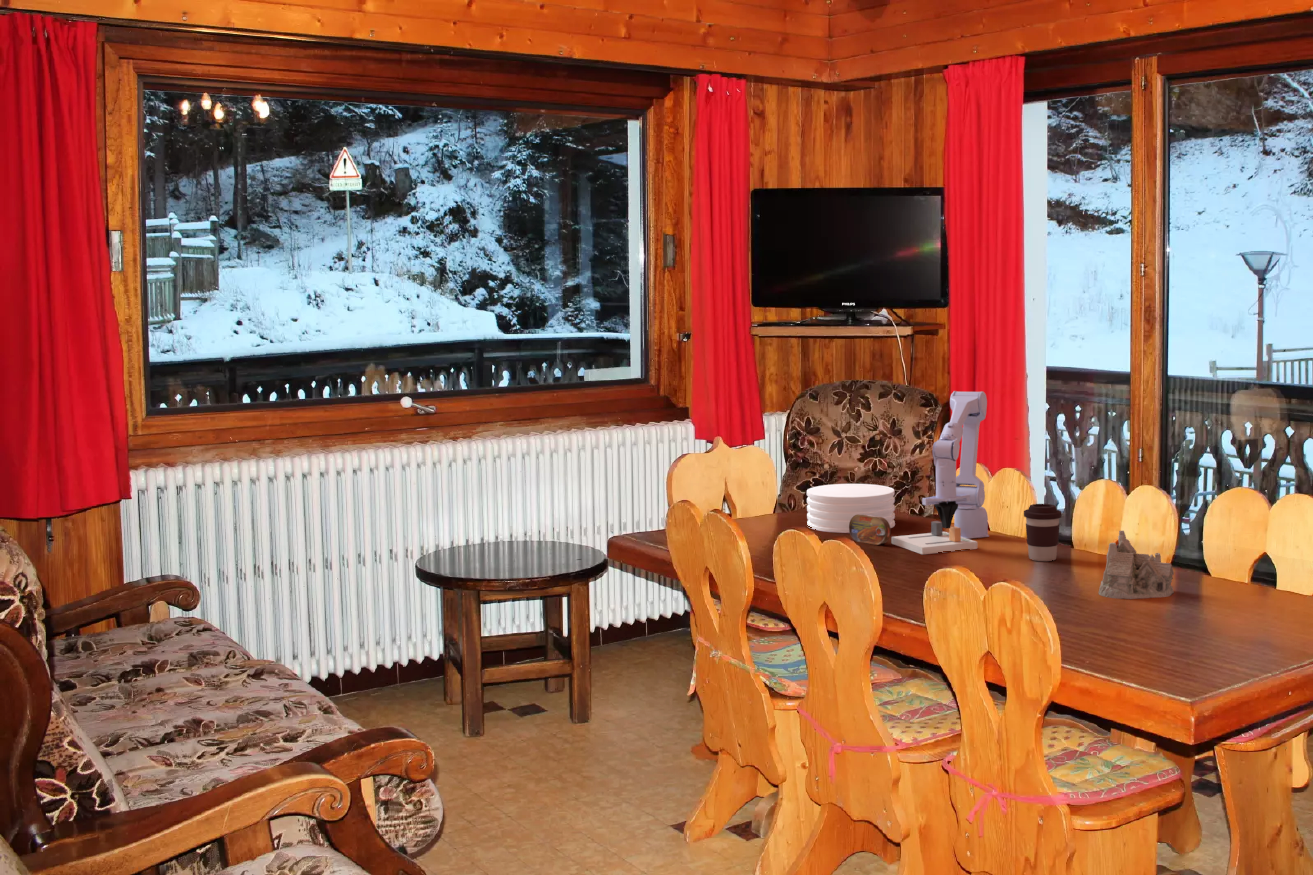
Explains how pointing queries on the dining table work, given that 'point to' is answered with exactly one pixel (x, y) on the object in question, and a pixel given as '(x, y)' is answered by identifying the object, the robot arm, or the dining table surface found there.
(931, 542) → the board
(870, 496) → the plate stack
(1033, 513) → the coffee cup
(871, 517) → the tin
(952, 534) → the switch
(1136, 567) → the ceramic cottage
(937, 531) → the gray rectangular block
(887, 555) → the dining table surface
